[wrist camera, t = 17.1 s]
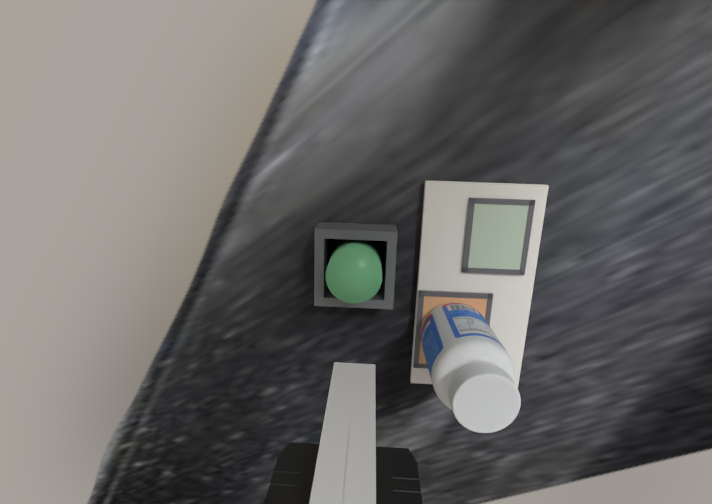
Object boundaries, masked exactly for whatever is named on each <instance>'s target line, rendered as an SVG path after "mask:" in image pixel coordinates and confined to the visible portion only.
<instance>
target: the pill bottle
mask: <svg viewBox="0 0 712 504" xmlns="http://www.w3.org/2000/svg"><path fill="white" fill-rule="evenodd" d="M420 337H421V344H422V347H423V351H424V355H425V359H426V362H427V366H428V370H429V373H430V377H431V380H432V384H433V387H434V390H435V392H436V394H437V396H438V397H439V399H440V400H441V401H442V402H443V403H444V404H445V405H446V406H447V407H448V408H450V409H452V410H453V413H454V415H455V417H456V419H457V420H458V422H459V423H460V424H461V425H463V426H464V427H465V428H467V429H469V430H471V431H474V432H479V433H492V432H496V431H499V430H501V429H503V428H505V427H507V426H508V425H509V424H511V422H512V421H513V420H514V419H515V418H516V416H517V415H518V412H519V410H520V405H521V398H520V394H519V391H518V389H517V387H516V385H515V382H516V371H515V367H514V364H513V361H512V359H511V357H510V356H509V354H508V353H507V351H506V349H505V348H504V346H503V345H502V344H501V342H500V341H499V339H498V338H497V336H496V335H495V333H494V332H493V330H492V329H491V327H490V326H489V325H488V323H487V321H486V320H485V318H484V317H483V316H482V315H481V313H480V312H479V311H478V310H476V309H475V308H474V307H472V306H470V305H467V304H464V303H459V302H452V303H446V304H442V305H440V306H438V307H436V308H434V309H433V310H432V311H431V312H430V313H429V314H428V315H427V316H426V317H425V319H424V321H423V323H422V326H421V331H420Z"/></svg>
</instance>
